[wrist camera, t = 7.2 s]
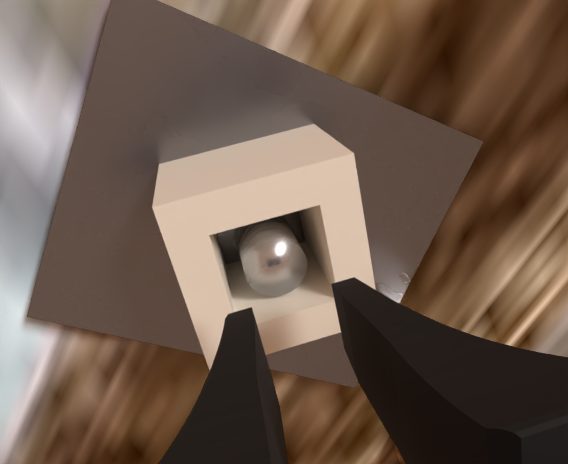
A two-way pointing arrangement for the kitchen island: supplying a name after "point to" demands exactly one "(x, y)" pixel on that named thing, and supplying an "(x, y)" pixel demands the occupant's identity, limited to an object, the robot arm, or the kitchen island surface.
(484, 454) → the robot arm
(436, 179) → the flat plate
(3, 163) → the kitchen island surface
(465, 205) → the kitchen island surface
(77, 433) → the kitchen island surface
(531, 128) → the kitchen island surface
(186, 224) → the block
